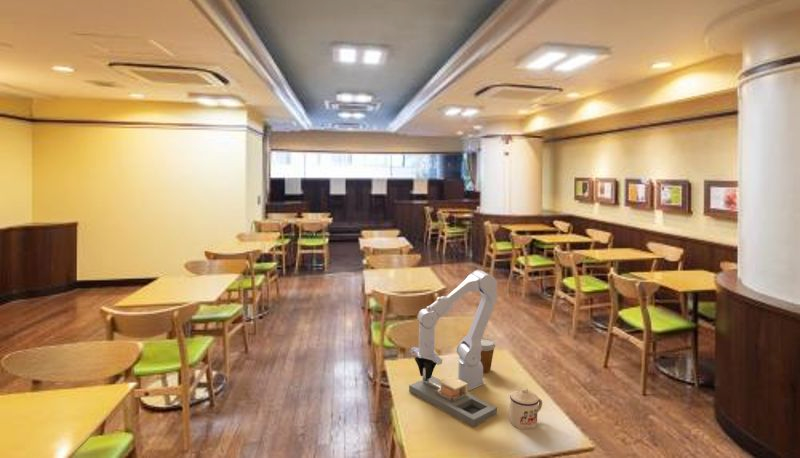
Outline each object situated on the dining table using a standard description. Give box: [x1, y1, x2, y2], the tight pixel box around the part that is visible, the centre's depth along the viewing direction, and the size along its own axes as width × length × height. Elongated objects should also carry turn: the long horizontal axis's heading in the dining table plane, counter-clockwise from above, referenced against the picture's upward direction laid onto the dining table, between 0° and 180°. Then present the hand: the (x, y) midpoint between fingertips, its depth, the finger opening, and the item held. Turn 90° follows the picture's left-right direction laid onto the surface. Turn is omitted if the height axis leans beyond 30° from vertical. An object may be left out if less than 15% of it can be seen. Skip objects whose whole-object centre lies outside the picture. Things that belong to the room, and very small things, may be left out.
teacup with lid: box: [509, 387, 543, 430], centre depth 156 cm, size 12×9×12 cm
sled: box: [422, 366, 465, 402], centre depth 172 cm, size 18×6×6 cm, turn 41°
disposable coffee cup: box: [480, 337, 496, 374], centre depth 195 cm, size 10×10×12 cm
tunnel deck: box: [408, 375, 498, 428], centre depth 168 cm, size 31×12×7 cm, turn 41°
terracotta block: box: [441, 385, 460, 398], centre depth 168 cm, size 5×4×4 cm
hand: (425, 376), depth 178 cm, fingers closed on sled, 2 cm apart
